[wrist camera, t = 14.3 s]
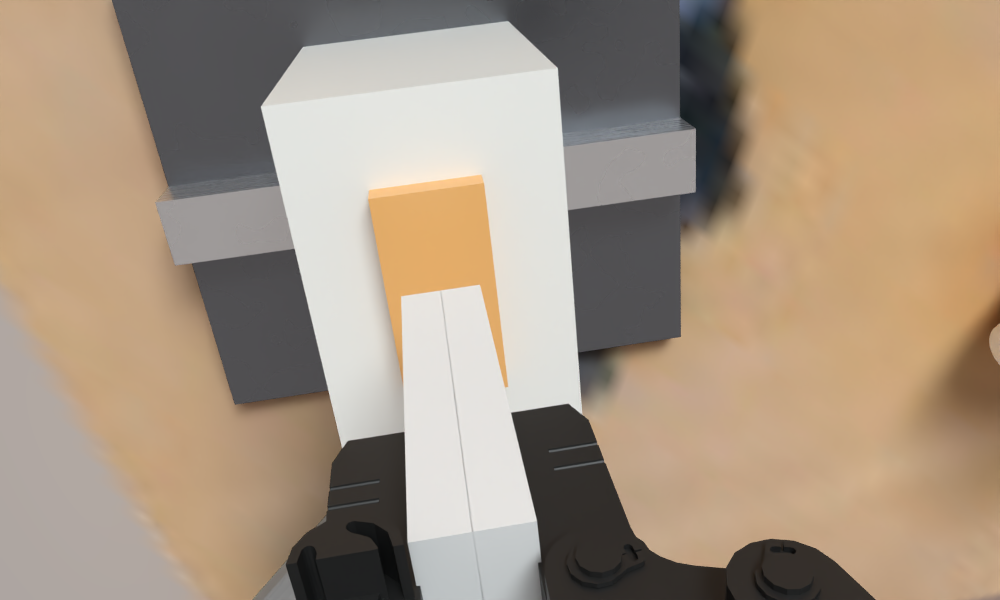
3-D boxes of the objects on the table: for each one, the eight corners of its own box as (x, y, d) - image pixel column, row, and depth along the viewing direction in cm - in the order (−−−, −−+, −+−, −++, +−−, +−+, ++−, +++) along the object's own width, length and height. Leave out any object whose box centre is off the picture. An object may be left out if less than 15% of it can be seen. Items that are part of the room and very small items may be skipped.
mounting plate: (668, -93, 23) (697, -94, 21) (671, 323, 30) (694, 357, 27) (116, -27, 22) (85, -20, 20) (239, 389, 29) (226, 429, 26)
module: (508, 20, 23) (563, 73, 16) (534, 295, 27) (588, 443, 20) (303, 47, 23) (256, 113, 15) (359, 320, 27) (345, 482, 19)
